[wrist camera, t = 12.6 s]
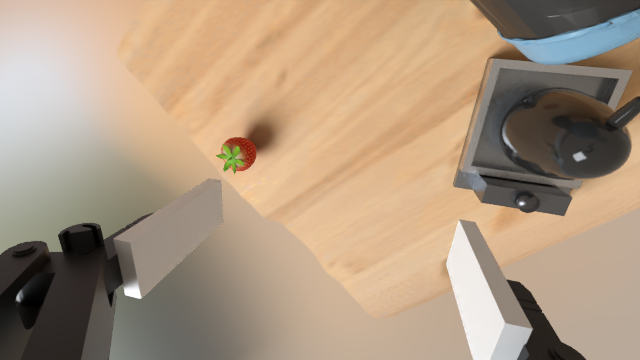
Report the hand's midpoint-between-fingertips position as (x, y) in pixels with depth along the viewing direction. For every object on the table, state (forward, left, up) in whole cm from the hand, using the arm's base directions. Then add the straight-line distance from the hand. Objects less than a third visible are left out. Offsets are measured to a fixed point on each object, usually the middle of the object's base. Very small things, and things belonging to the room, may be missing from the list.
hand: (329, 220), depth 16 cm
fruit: (+7, -19, -32) cm, 38 cm away
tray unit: (-1, +22, -32) cm, 38 cm away
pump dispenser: (-3, +22, -31) cm, 38 cm away
